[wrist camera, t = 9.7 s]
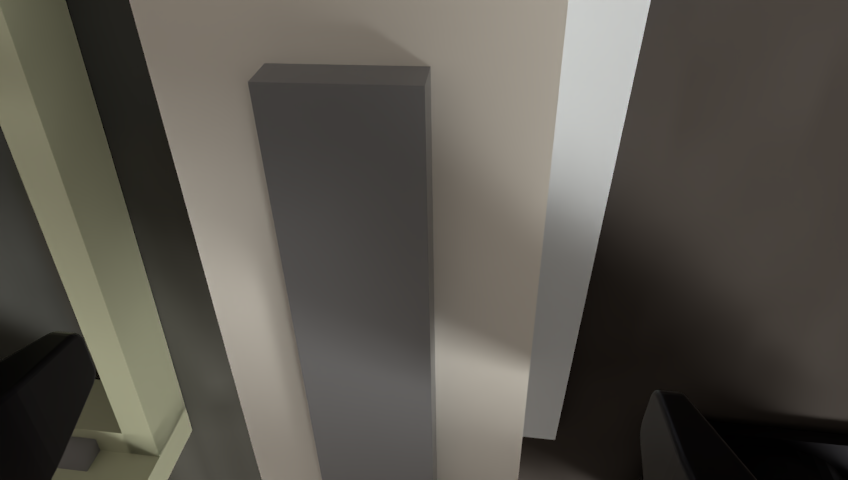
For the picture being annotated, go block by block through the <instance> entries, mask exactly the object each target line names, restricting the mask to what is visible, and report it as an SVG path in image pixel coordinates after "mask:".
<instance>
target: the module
mask: <svg viewBox="0 0 848 480" xmlns="http://www.w3.org/2000/svg"><path fill="white" fill-rule="evenodd" d="M129 2H130V5H131V9H132V12H133V16H134V20H135V23H136V27H137V30H138V34H139V38H140V41H141V45H142V49H143V52H144V56H145V59H146V63H147V67H148V70H149V74H150V78H151V81H152V85H153V88H154V92H155V96H156V99H157V103H158V106H159V110H160V114H161V117H162V121H163V125H164V128H165V132H166V135H167V139H168V143H169V146H170V150H171V153H172V157H173V161H174V164H175V168H176V172H177V175H178V179H179V182H180V186H181V190H182V193H183V197H184V200H185V204H186V208H187V211H188V215H189V219H190V222H191V226H192V229H193V233H194V237H195V240H196V244H197V247H198V251H199V255H200V258H201V262H202V266H203V269H204V273H205V276H206V280H207V284H208V287H209V291H210V294H211V298H212V302H213V305H214V309H215V313H216V316H217V320H218V323H219V327H220V331H221V334H222V338H223V342H224V345H225V349H226V352H227V356H228V360H229V363H230V367H231V370H232V374H233V378H234V381H235V385H236V389H237V392H238V396H239V399H240V403H241V407H242V410H243V414H244V417H245V421H246V425H247V428H248V432H249V436H250V439H251V443H252V446H253V450H254V454H255V457H256V461H257V464H258V468H259V472H260V475H261V479H262V480H518V476H519V466H520V457H521V447H522V437H523V428H524V418H525V409H526V399H527V390H528V380H529V371H530V361H531V352H532V342H533V333H534V323H535V314H536V304H537V295H538V285H539V276H540V266H541V257H542V247H543V238H544V228H545V219H546V209H547V200H548V190H549V181H550V171H551V162H552V152H553V142H554V133H555V123H556V114H557V104H558V95H559V85H560V76H561V66H562V57H563V47H564V38H565V28H566V19H567V9H568V0H129Z"/></svg>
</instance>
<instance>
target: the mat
mask: <svg viewBox="0 0 848 480" xmlns="http://www.w3.org/2000/svg"><path fill="white" fill-rule="evenodd" d="M650 1H651V0H568V9H567V19H566V28H565V38H564V47H563V57H562V66H561V76H560V85H559V95H558V104H557V114H556V123H555V133H554V142H553V152H552V162H551V171H550V181H549V190H548V200H547V209H546V219H545V228H544V238H543V247H542V257H541V266H540V276H539V285H538V295H537V304H536V314H535V323H534V333H533V342H532V352H531V361H530V371H529V380H528V390H527V399H526V409H525V418H524V428H523V437H531V438H541V439H550V440H555V438H556V433H557V429H558V424H559V420H560V415H561V410H562V406H563V401H564V397H565V392H566V387H567V383H568V378H569V374H570V369H571V364H572V360H573V355H574V351H575V346H576V341H577V337H578V332H579V328H580V323H581V318H582V314H583V309H584V305H585V300H586V295H587V291H588V286H589V282H590V277H591V272H592V268H593V263H594V259H595V254H596V250H597V245H598V240H599V236H600V231H601V227H602V222H603V217H604V213H605V208H606V204H607V199H608V194H609V190H610V185H611V181H612V176H613V171H614V167H615V162H616V158H617V153H618V148H619V144H620V139H621V135H622V130H623V125H624V121H625V116H626V112H627V107H628V102H629V98H630V93H631V89H632V84H633V79H634V75H635V70H636V66H637V61H638V56H639V52H640V47H641V43H642V38H643V33H644V29H645V24H646V20H647V15H648V11H649V6H650Z"/></svg>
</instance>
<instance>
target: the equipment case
mask: <svg viewBox="0 0 848 480" xmlns="http://www.w3.org/2000/svg"><path fill="white" fill-rule="evenodd" d="M0 126H1V128H2V131H3V133H4V136H5V138H6V141H7V143H8V146H9V148H10V151H11V154H12V156H13V159H14V161H15V164H16V166H17V169H18V171H19V174H20V176H21V179H22V181H23V184H24V186H25V189H26V192H27V194H28V197H29V199H30V202H31V204H32V207H33V209H34V212H35V214H36V217H37V219H38V222H39V224H40V227H41V229H42V232H43V235H44V237H45V240H46V242H47V245H48V247H49V250H50V252H51V255H52V257H53V260H54V262H55V265H56V267H57V270H58V273H59V275H60V278H61V280H62V283H63V285H64V288H65V290H66V293H67V295H68V298H69V300H70V303H71V305H72V308H73V310H74V313H75V316H76V318H77V321H78V323H79V326H80V328H81V331H82V333H83V336H84V338H85V341H86V343H87V346H88V348H89V351H90V354H91V356H92V359H93V361H94V364H95V366H96V369H97V371H98V374H99V376H100V379H101V380H97V379H95V381H94V384H93V387H92V389H91V391H90V394H89V396H88V398H87V401H86V403H85V405H84V408H83V410H82V412H81V415H80V417H79V419H78V422H77V424H76V426H75V429H74V431H73V434H72V436H71V438H70V441H69V443H68V445H67V448H66V450H65V452H64V455H63V457H62V459H61V461H60V463H59V465H58V468H57V470H56V472H55V473H54V475H53V477H52V479H51V480H168V478H169V476H170V474H171V472H172V470H173V468H174V466H175V464H176V462H177V460H178V458H179V456H180V454H181V452H182V450H183V448H184V446H185V444H186V442H187V440H188V438H189V436H190V434H191V432H192V428H191V424H190V421H189V417H188V414H187V411H186V407H185V404H184V400H183V397H182V394H181V390H180V387H179V383H178V380H177V377H176V373H175V370H174V367H173V363H172V360H171V356H170V353H169V350H168V346H167V343H166V339H165V336H164V333H163V329H162V326H161V322H160V319H159V316H158V312H157V309H156V305H155V302H154V299H153V295H152V292H151V288H150V285H149V282H148V278H147V275H146V272H145V268H144V265H143V261H142V258H141V255H140V251H139V248H138V244H137V241H136V238H135V234H134V231H133V227H132V224H131V221H130V217H129V214H128V210H127V207H126V204H125V200H124V197H123V193H122V190H121V187H120V183H119V180H118V177H117V173H116V170H115V166H114V163H113V160H112V156H111V153H110V149H109V146H108V143H107V139H106V136H105V132H104V129H103V126H102V122H101V119H100V115H99V112H98V109H97V105H96V102H95V98H94V95H93V92H92V88H91V85H90V81H89V78H88V75H87V71H86V68H85V65H84V61H83V58H82V54H81V51H80V48H79V44H78V41H77V37H76V34H75V31H74V27H73V24H72V20H71V17H70V14H69V10H68V7H67V3H66V0H0Z"/></svg>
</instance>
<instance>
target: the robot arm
mask: <svg viewBox="0 0 848 480" xmlns="http://www.w3.org/2000/svg"><path fill="white" fill-rule="evenodd" d="M94 381H95V367H94V364H93V362H92V359H91V357H90V354H89V352H88V349H87V347H86V344H85V341H84V339H83V338H82V337H81V336H80V335H79V334H77V333H69V332H58V331H57V332H52V333H49V334H47V335H45V336H44V337H42V338H40V339H38V340H37V341H35V342H33V343H31V344H30V345H28V346H26V347H24V348H23V349H21V350H19V351H17V352H16V353H14V354H12V355H10V356H9V357H7V358H5V359H3V360H2V361H0V480H51V479H52V477H53V475H54V473H55V472H56V470H57V468H58V465H59V463H60V461H61V459H62V457H63V455H64V452H65V450H66V448H67V445H68V443H69V441H70V438H71V436H72V434H73V431H74V429H75V426H76V424H77V422H78V419H79V417H80V415H81V412H82V410H83V408H84V405H85V403H86V401H87V398H88V396H89V394H90V391H91V389H92V387H93V384H94ZM640 443H641V455H642V467H643V473H642V474H641V475H640V478H639V480H848V435H840V434H830V433H820V432H810V431H801V430H791V429H781V428H771V427H761V426H751V425H741V424H731V423H722V422H712V421H707V420H706V419H705V418H704V416H703V415H702V414H701V413H700V412H699V411H698V409H697V408H696V407H695V406H694V405H693V403H692V402H691V401H690V400H689V399H688V398H687V396H686V395H684V394H683V393H681V392H678V391H668V390H655V391H654V392H653V393H652V395H651V397H650V400H649V403H648V406H647V409H646V412H645V415H644V418H643V421H642V424H641V430H640Z"/></svg>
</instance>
